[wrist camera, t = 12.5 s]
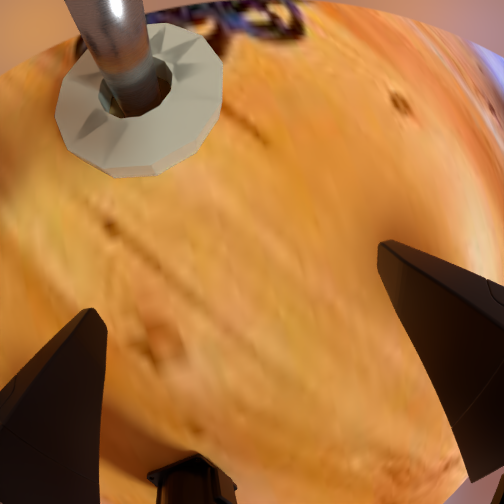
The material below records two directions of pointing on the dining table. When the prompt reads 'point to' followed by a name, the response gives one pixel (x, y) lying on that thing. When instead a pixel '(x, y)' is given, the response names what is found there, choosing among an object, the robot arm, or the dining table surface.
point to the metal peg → (120, 50)
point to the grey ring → (153, 122)
